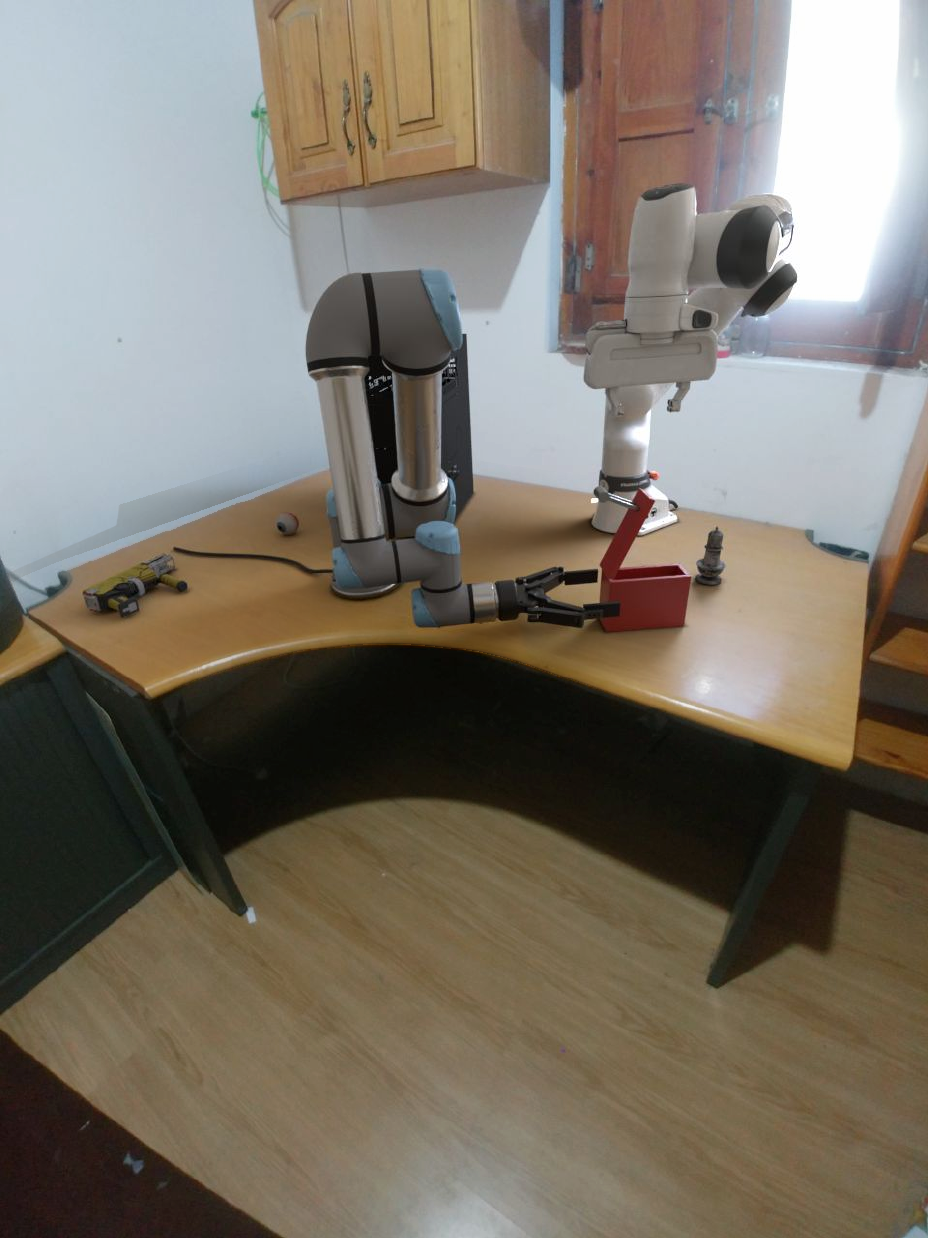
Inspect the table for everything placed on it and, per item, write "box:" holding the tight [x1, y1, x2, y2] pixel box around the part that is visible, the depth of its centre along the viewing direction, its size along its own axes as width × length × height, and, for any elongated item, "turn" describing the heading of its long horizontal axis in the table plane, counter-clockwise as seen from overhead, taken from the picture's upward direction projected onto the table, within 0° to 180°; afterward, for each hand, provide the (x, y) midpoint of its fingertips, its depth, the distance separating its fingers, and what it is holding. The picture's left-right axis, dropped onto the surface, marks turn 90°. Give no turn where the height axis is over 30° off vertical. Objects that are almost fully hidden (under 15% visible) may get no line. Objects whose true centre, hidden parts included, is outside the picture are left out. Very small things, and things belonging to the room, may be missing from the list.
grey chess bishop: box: [695, 526, 727, 586], centre depth 126 cm, size 6×6×12 cm
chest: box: [598, 562, 692, 633], centre depth 113 cm, size 15×6×10 cm, turn 94°
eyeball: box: [275, 511, 300, 536], centre depth 163 cm, size 6×6×6 cm
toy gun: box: [81, 552, 188, 619], centre depth 136 cm, size 5×24×15 cm
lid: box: [592, 485, 655, 580], centre depth 106 cm, size 16×6×9 cm
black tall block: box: [364, 333, 475, 539], centre depth 163 cm, size 38×20×45 cm, turn 167°
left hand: (608, 591), depth 113 cm, fingers open, 13 cm apart
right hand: (645, 413), depth 96 cm, fingers open, 8 cm apart
